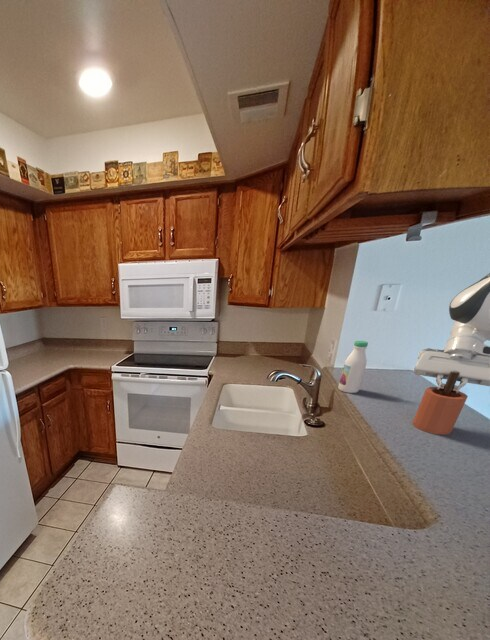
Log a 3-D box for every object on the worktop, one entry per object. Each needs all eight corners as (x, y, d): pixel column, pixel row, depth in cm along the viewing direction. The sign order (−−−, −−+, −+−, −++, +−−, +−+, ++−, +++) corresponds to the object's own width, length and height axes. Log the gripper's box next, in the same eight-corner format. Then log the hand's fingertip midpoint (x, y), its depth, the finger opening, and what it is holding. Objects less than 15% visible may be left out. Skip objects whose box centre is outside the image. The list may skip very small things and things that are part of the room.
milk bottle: (359, 389, 137) (373, 341, 128) (357, 394, 132) (371, 344, 122) (339, 385, 141) (352, 338, 132) (336, 390, 136) (349, 342, 126)
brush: (442, 416, 105) (462, 371, 98) (444, 420, 102) (465, 374, 95) (427, 413, 107) (446, 369, 100) (429, 418, 104) (448, 372, 97)
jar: (444, 423, 109) (460, 389, 103) (456, 436, 101) (473, 400, 95) (409, 418, 112) (422, 385, 107) (417, 431, 104) (431, 396, 98)
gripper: (422, 342, 105) (408, 378, 103) (509, 351, 94) (495, 393, 92) (419, 353, 110) (405, 388, 108) (500, 363, 99) (487, 403, 97)
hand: (447, 390), depth 100 cm, fingers closed on brush, 2 cm apart
